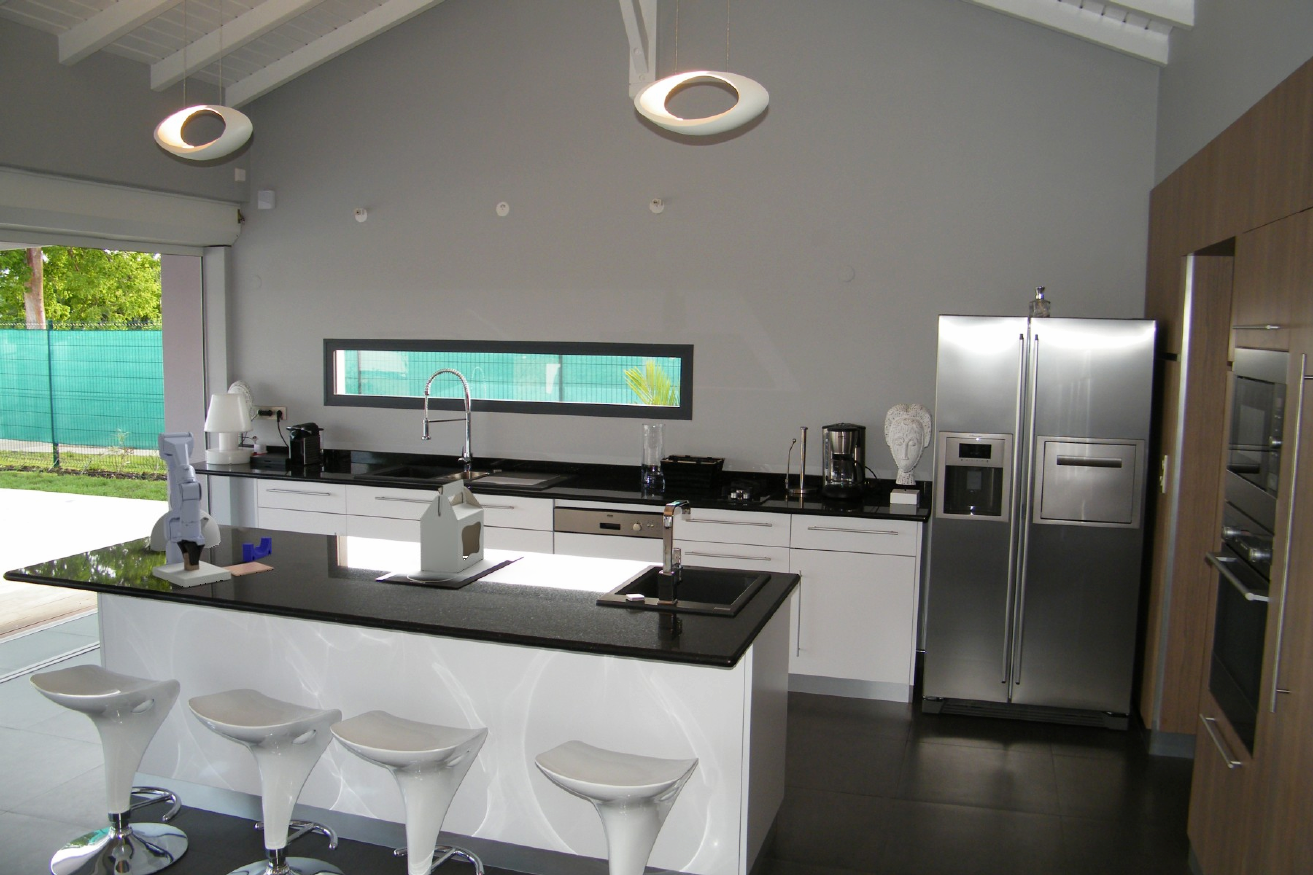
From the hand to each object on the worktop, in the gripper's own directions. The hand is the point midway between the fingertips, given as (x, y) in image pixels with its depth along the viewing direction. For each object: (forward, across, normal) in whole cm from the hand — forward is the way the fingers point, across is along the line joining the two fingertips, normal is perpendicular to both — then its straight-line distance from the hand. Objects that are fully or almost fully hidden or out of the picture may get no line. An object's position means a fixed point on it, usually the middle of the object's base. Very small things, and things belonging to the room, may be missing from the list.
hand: (191, 564), depth 289 cm
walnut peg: (+3, 0, 0) cm, 3 cm away
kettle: (+4, -47, +20) cm, 51 cm away
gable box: (+4, +45, +66) cm, 80 cm away
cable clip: (+5, -12, +27) cm, 30 cm away
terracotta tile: (+4, +3, +16) cm, 17 cm away
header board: (+4, 0, 0) cm, 4 cm away
